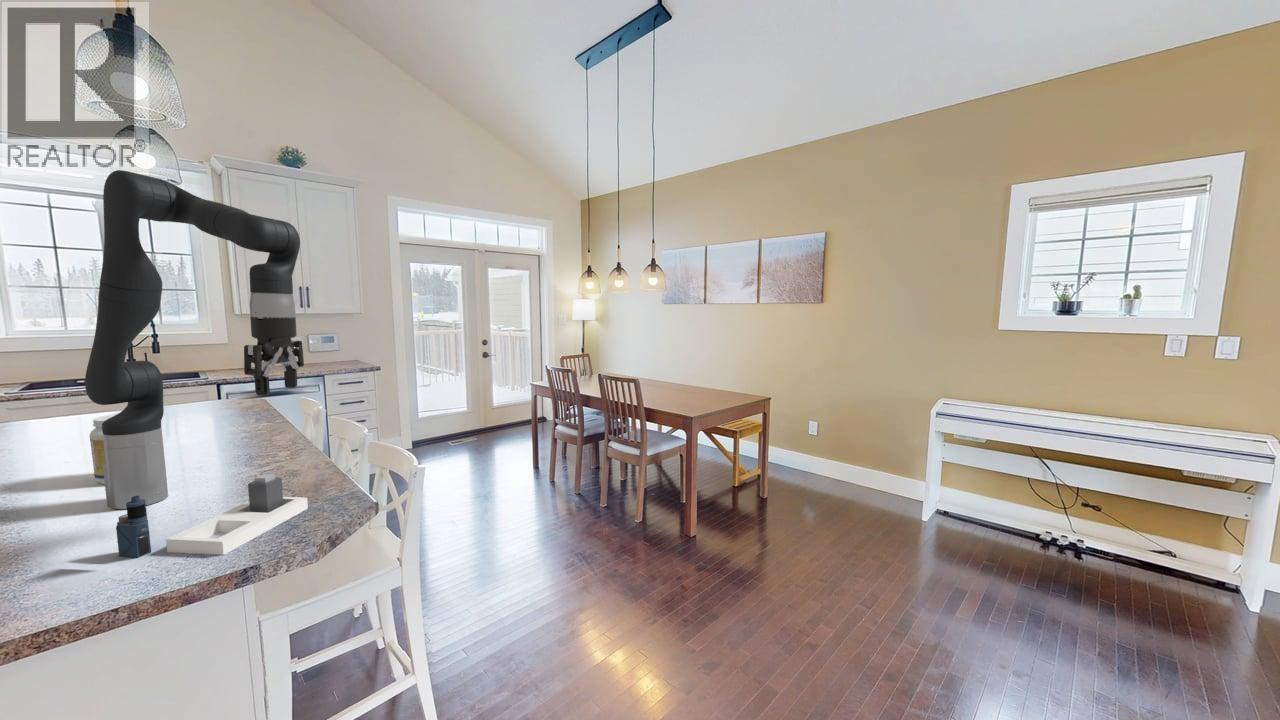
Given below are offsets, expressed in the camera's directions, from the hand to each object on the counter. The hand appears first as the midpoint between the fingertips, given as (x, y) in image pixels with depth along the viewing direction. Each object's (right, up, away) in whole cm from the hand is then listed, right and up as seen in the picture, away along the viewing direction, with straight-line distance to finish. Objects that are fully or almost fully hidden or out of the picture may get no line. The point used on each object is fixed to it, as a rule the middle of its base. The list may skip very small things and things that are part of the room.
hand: (277, 391), depth 99 cm
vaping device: (-15, -30, -14) cm, 36 cm away
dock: (-4, -29, -4) cm, 29 cm away
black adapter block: (-3, -27, +1) cm, 28 cm away
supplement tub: (-60, -25, +25) cm, 69 cm away
